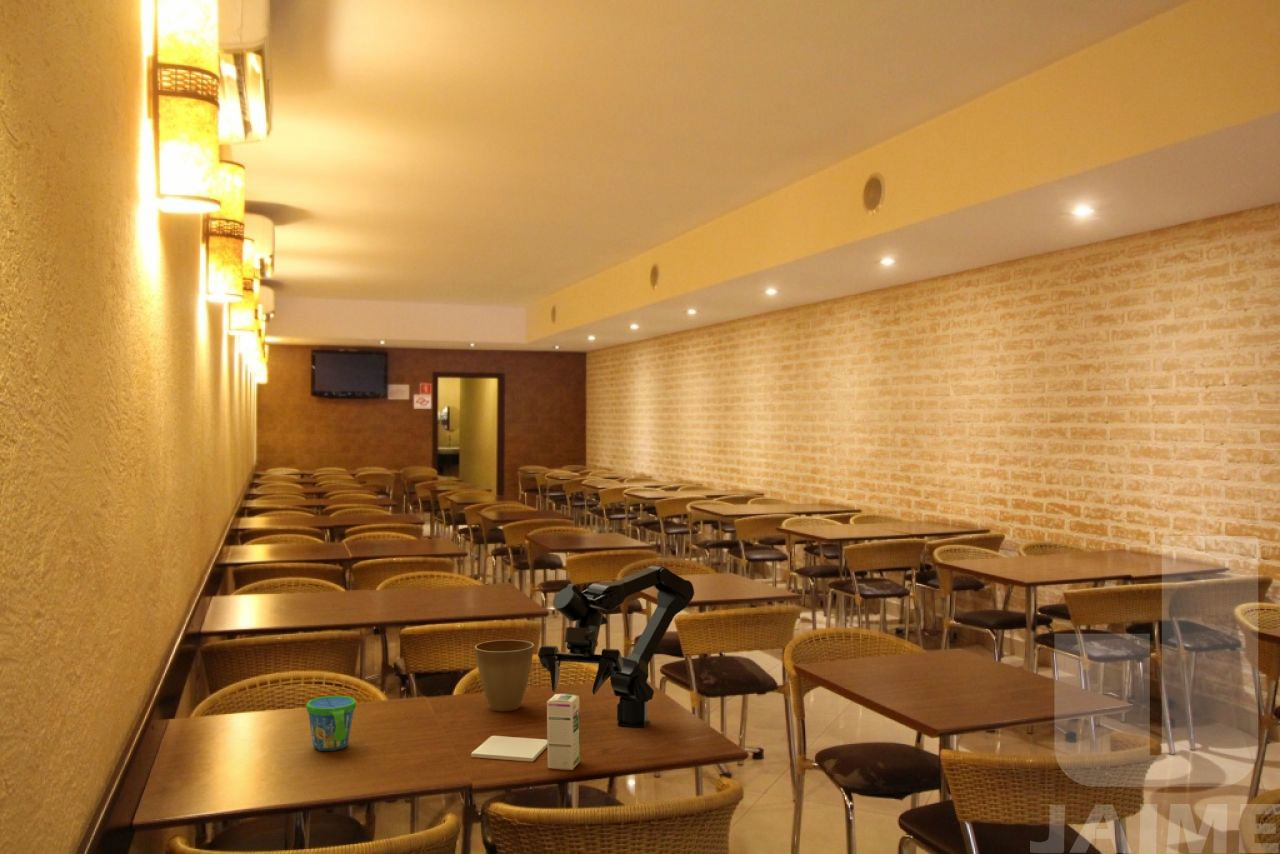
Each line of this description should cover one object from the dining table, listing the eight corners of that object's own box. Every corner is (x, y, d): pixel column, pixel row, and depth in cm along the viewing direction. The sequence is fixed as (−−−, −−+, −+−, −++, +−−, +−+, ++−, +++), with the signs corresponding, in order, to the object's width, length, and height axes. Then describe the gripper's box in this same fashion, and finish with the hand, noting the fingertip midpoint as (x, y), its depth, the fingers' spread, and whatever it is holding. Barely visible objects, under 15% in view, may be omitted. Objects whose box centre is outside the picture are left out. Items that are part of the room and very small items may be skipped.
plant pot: (541, 701, 269) (541, 640, 269) (522, 717, 254) (522, 653, 254) (487, 698, 272) (487, 637, 272) (465, 713, 258) (465, 649, 258)
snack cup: (361, 754, 226) (361, 707, 226) (311, 760, 221) (311, 713, 221) (349, 734, 240) (349, 690, 240) (302, 740, 236) (302, 695, 236)
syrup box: (573, 770, 216) (573, 701, 216) (546, 768, 217) (546, 699, 217) (580, 761, 222) (580, 694, 222) (553, 759, 223) (554, 692, 223)
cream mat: (550, 743, 234) (550, 739, 234) (532, 761, 222) (532, 758, 221) (491, 739, 237) (491, 735, 237) (471, 756, 224) (471, 753, 224)
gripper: (540, 610, 234) (524, 670, 224) (620, 613, 231) (608, 675, 220) (550, 637, 242) (535, 696, 232) (628, 641, 238) (616, 701, 228)
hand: (573, 692), depth 228 cm, fingers open, 9 cm apart
